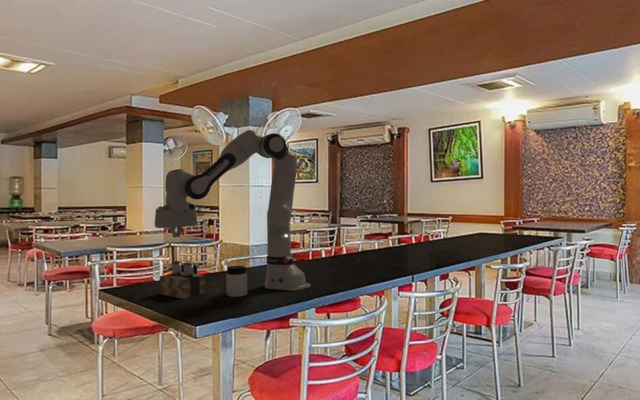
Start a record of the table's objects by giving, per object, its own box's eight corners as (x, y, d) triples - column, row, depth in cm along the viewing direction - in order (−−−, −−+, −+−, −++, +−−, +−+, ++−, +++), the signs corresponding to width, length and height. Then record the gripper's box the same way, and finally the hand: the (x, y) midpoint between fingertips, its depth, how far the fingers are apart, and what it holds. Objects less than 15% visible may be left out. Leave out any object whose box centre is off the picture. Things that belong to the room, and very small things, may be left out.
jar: (247, 292, 206) (247, 265, 206) (246, 296, 198) (246, 268, 198) (227, 293, 205) (227, 265, 205) (225, 297, 197) (225, 268, 197)
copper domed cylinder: (195, 279, 202) (195, 262, 202) (188, 281, 199) (187, 263, 199) (189, 278, 205) (189, 261, 204) (181, 280, 201) (181, 263, 201)
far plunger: (183, 278, 207) (183, 261, 207) (176, 279, 203) (175, 262, 203) (177, 277, 209) (177, 260, 209) (170, 278, 206) (169, 261, 206)
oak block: (205, 293, 204) (205, 275, 204) (183, 298, 195) (183, 279, 194) (182, 289, 214) (182, 272, 213) (160, 294, 204) (159, 276, 204)
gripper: (160, 206, 196) (160, 239, 196) (198, 205, 212) (199, 235, 212) (151, 206, 199) (151, 238, 199) (189, 205, 216) (190, 235, 216)
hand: (176, 237), depth 206 cm, fingers closed
